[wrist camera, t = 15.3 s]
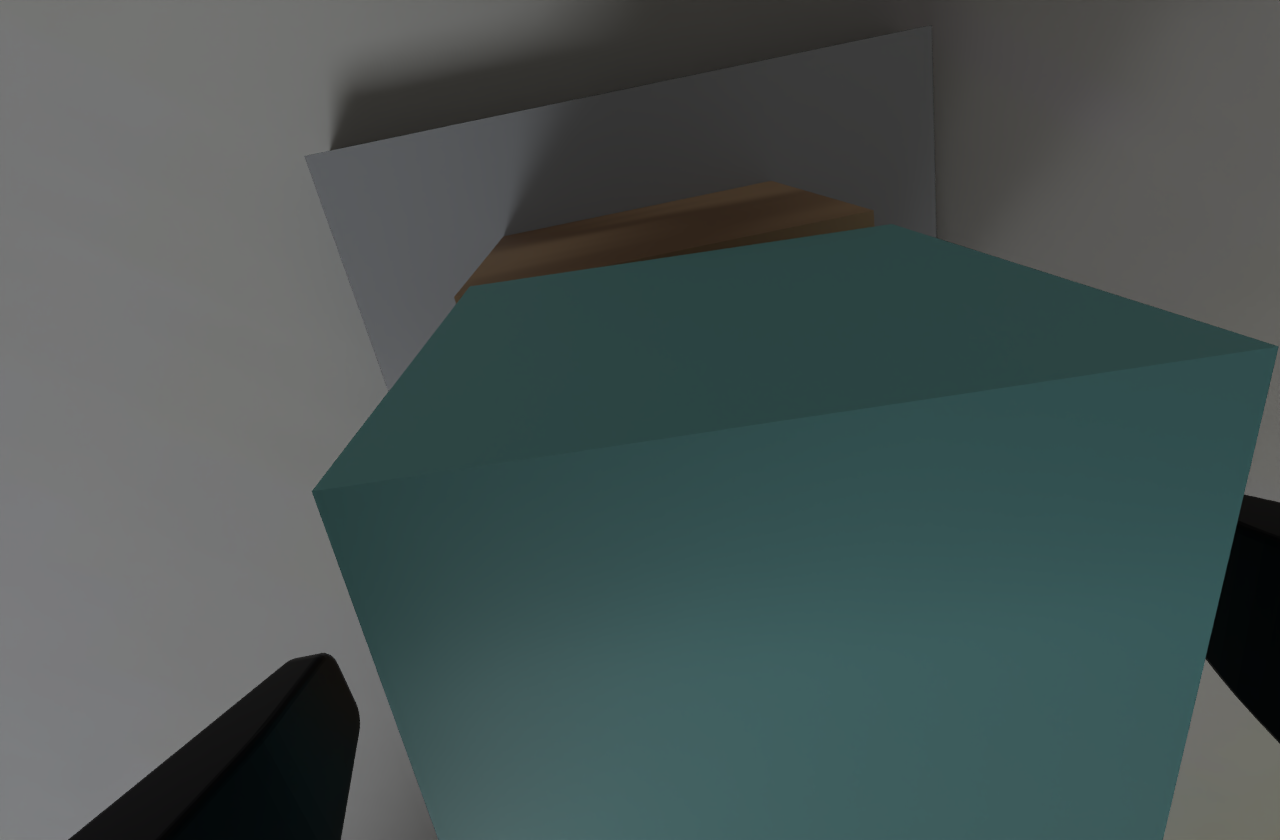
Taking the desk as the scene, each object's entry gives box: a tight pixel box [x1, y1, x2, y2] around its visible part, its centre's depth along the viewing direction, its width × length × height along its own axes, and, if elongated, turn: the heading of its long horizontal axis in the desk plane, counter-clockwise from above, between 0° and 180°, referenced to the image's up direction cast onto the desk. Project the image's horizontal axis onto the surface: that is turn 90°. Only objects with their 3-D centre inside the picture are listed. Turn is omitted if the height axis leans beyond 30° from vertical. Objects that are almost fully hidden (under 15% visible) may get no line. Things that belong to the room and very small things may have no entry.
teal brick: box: [312, 224, 1279, 840], centre depth 7 cm, size 5×7×5 cm
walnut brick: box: [454, 181, 875, 304], centre depth 12 cm, size 5×7×5 cm
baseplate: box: [305, 25, 936, 391], centre depth 15 cm, size 11×11×1 cm
